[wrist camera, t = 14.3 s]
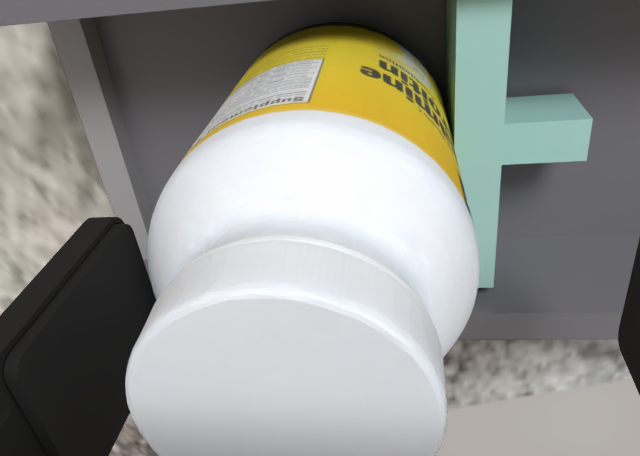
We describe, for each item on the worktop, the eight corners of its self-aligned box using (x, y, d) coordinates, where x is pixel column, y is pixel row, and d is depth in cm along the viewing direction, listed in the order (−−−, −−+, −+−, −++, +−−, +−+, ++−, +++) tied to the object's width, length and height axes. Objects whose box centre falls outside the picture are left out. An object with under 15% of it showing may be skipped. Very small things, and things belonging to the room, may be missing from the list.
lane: (1081, -161, 13) (1629, -186, 7) (886, 234, 19) (1106, 398, 13) (59, -44, 17) (-115, 1, 11) (154, 254, 23) (71, 387, 17)
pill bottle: (445, 203, 19) (509, 553, 9) (259, 215, 20) (139, 543, 10) (441, 0, 16) (536, 214, 6) (218, 26, 17) (-18, 247, 7)
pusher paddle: (589, -40, 15) (630, -21, 12) (554, 230, 19) (579, 286, 16) (446, -25, 15) (457, -4, 13) (444, 233, 19) (451, 288, 17)
